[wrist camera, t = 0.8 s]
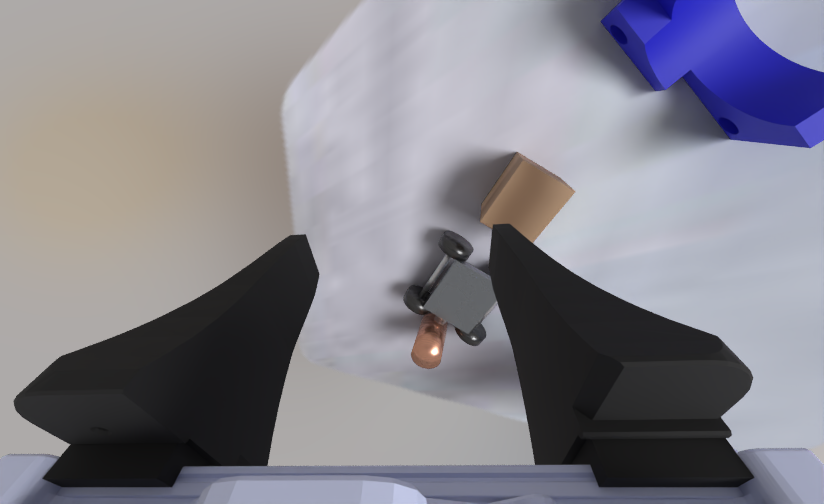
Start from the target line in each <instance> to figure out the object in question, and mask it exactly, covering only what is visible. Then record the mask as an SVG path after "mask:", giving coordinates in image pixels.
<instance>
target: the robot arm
mask: <svg viewBox="0 0 824 504" xmlns="http://www.w3.org/2000/svg"><path fill="white" fill-rule="evenodd" d="M489 271H490V277H491V282H492V287H493V291H494V294H495V297H496V300H497V303H498V306H499V309H500V312H501V314H502V317H503V320H504V323H505V326H506V329H507V332H508V335H509V338H510V342H511V345H512V348H513V353H514V357H515V362H516V366H517V371H518V375H519V380H520V385H521V390H522V395H523V399H524V405H525V410H526V415H527V421H528V426H529V431H530V437H531V442H532V448H533V454H534V461H535V465H439V466H438V465H418V466H417V465H414V466H267V465H268V459H269V454H270V448H271V442H272V436H273V431H274V427H275V422H276V417H277V412H278V407H279V402H280V399H281V395H282V390H283V386H284V382H285V378H286V374H287V371H288V367H289V364H290V360H291V356H292V353H293V350H294V347H295V344H296V342H297V339H298V337H299V334H300V332H301V329H302V327H303V324H304V322H305V319H306V317H307V314H308V312H309V309H310V307H311V304H312V301H313V299H314V296H315V292H316V288H317V283H318V279H319V272H318V269H317V266H316V263H315V260H314V257H313V254H312V251H311V248H310V246H309V243H308V240H307V237H306V234H305V235H290V236H289V237H287V238H285V239H284V240H282V241H281V242H279V243H278V244H277V245H275V246H274V247H273V248H271V249H270V250H269V251H267V252H266V253H265V254H263V255H262V256H261V257H259V258H258V259H257V260H255V261H254V262H252V263H251V264H250V265H248V266H247V267H246V268H244V269H242V270H241V271H240V272H238V273H237V274H235V275H234V276H232V277H231V278H229V279H228V280H226V281H225V282H223V283H222V284H220V285H219V286H217V287H215V288H214V289H212V290H210V291H209V292H207V293H205V294H203V295H202V296H200V297H198V298H197V299H195V300H193V301H191V302H189V303H187V304H185V305H183V306H181V307H179V308H177V309H175V310H173V311H171V312H169V313H167V314H165V315H163V316H161V317H159V318H157V319H155V320H153V321H150V322H148V323H146V324H144V325H141V326H139V327H137V328H134V329H132V330H129V331H127V332H125V333H122V334H120V335H117V336H115V337H112V338H110V339H107V340H105V341H102V342H99V343H96V344H93V345H91V346H88V347H85V348H83V349H80V350H77V351H74V352H72V353H69V354H66V355H63V356H61V357H59V358H58V359H57V360H56V361H54V362H53V363H52V364H51V365H50V366H49V367H48V368H47V369H45V370H44V371H43V372H42V373H41V374H40V375H39V376H38V377H37V378H36V379H35V380H34V381H32V382H31V383H30V384H29V385H28V386H27V387H26V388H25V389H24V390H23V391H22V392H20V393H19V394H18V395H17V396H16V398H15V400H14V406H15V409H16V411H17V412H18V413H19V414H20V415H21V416H22V417H23V418H25V419H26V420H28V421H29V422H31V423H32V424H34V425H36V426H38V427H39V428H41V429H43V430H45V431H47V432H49V433H50V434H52V435H54V436H56V437H58V438H59V439H61V440H63V441H65V442H67V443H69V444H71V445H70V446H69V447H68V448H67V449H66V451H65V452H64V453H63V454H62V456H61V457H58V456H54V455H50V454H8V455H5V456H3V457H2V458H1V459H0V504H824V464H823V463H822V462H821V461H820V460H819V459H818V458H817V457H816V456H815V454H814V453H813V452H812V451H810V450H808V449H805V448H770V449H748V450H744V451H740V452H738V451H737V450H735V449H733V448H732V446H731V445H730V444H729V442H728V441H727V440H726V438H729V437H730V436H731V435H732V434H731V430H730V429H729V428H728V426H727V425H726V424H725V422H724V421H723V420H722V419H721V416H722V415H723V414H724V413H726V412H727V411H728V410H729V409H730V408H731V407H732V406H734V405H735V404H736V403H737V402H738V401H739V400H740V399H742V398H743V397H744V395H745V394H746V393H747V392H748V391H749V390H750V387H751V383H752V380H753V376H752V374H751V371H750V370H749V368H748V367H747V366H746V365H745V364H744V363H743V362H742V361H741V360H740V359H739V358H738V357H737V356H736V355H735V354H734V353H733V352H732V351H731V350H730V349H729V348H728V347H727V346H726V345H725V343H724V342H723V341H722V340H721V339H720V338H719V337H718V336H715V335H712V334H709V333H707V332H704V331H701V330H698V329H695V328H692V327H689V326H687V325H684V324H681V323H678V322H675V321H672V320H669V319H667V318H664V317H662V316H659V315H657V314H654V313H652V312H650V311H647V310H645V309H642V308H640V307H638V306H635V305H633V304H631V303H629V302H626V301H624V300H622V299H620V298H618V297H616V296H614V295H612V294H610V293H608V292H606V291H604V290H602V289H600V288H598V287H596V286H595V285H593V284H591V283H589V282H588V281H586V280H584V279H583V278H581V277H579V276H578V275H576V274H574V273H573V272H571V271H570V270H568V269H566V268H565V267H564V266H562V265H561V264H559V263H558V262H556V261H555V260H554V259H552V258H551V257H550V256H548V255H547V254H546V253H544V252H543V251H542V250H541V249H539V248H538V247H537V246H536V245H534V244H533V243H532V242H531V241H530V240H528V239H527V238H526V237H525V236H524V235H522V234H521V233H520V232H519V231H518V230H517V229H516V228H514V227H513V226H512V225H511V224H493V228H492V238H491V248H490V258H489Z"/></svg>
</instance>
